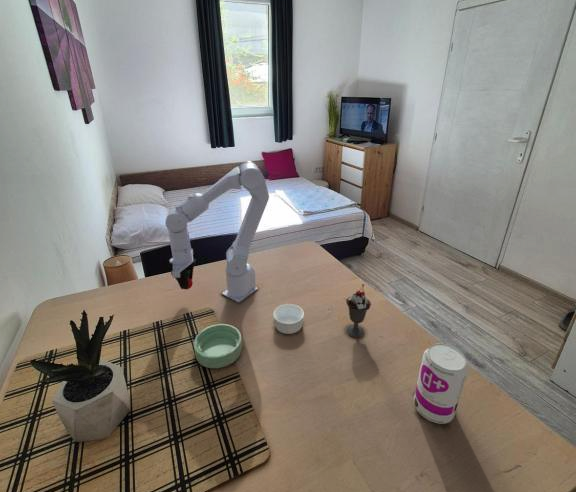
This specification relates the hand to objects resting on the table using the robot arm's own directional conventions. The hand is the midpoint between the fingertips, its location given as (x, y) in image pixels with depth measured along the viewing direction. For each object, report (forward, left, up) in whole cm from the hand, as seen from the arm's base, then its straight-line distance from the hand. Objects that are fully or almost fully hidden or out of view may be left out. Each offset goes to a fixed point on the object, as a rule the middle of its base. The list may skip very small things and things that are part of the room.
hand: (186, 284), depth 104 cm
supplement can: (-6, +75, -6) cm, 75 cm away
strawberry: (0, 0, -1) cm, 1 cm away
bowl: (+10, +25, -6) cm, 27 cm away
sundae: (-18, +51, -6) cm, 54 cm away
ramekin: (-9, +34, -6) cm, 36 cm away
